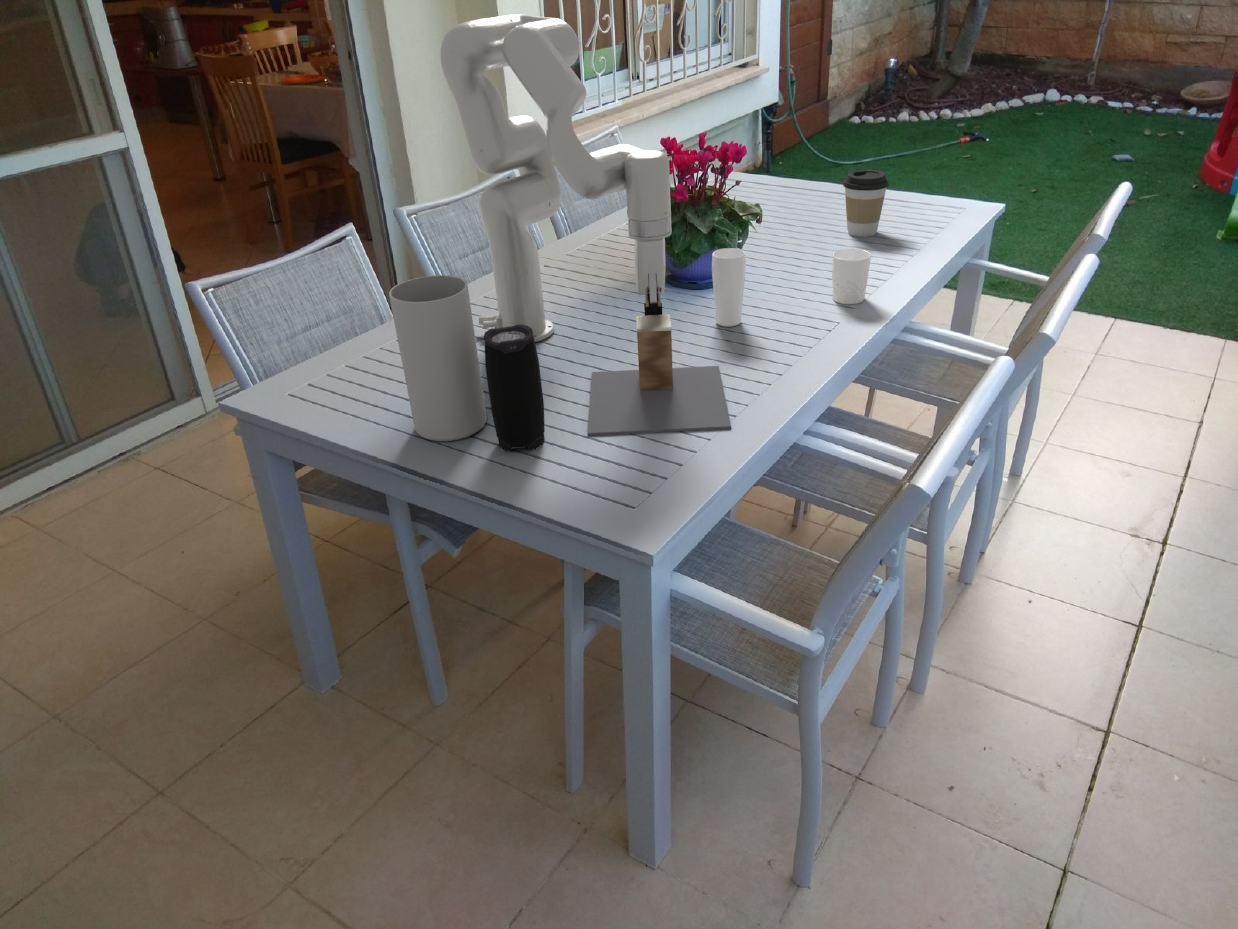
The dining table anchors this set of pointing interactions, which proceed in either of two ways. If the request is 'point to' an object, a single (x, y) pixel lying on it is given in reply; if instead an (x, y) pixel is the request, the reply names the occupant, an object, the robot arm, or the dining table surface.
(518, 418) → the portable speaker
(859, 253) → the white cup
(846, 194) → the coffee cup
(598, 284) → the dining table surface
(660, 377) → the wooden box
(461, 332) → the cylinder vase
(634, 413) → the rubber mat
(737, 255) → the drinking glass
